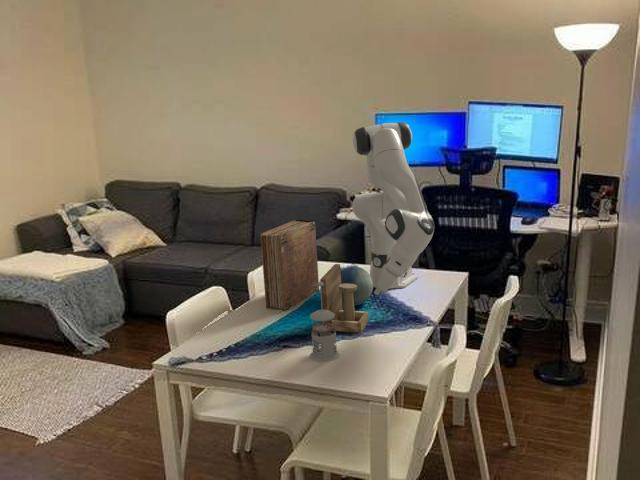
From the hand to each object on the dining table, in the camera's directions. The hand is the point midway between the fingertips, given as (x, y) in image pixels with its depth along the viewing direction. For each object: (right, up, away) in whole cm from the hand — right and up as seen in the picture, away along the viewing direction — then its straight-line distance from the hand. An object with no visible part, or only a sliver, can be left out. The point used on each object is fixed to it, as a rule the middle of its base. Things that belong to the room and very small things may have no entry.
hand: (379, 287), depth 229 cm
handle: (-10, -14, +5) cm, 18 cm away
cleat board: (-11, -14, +6) cm, 19 cm away
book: (-32, -8, +36) cm, 48 cm away
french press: (-20, -21, -16) cm, 33 cm away
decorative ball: (-7, -9, +26) cm, 29 cm away
